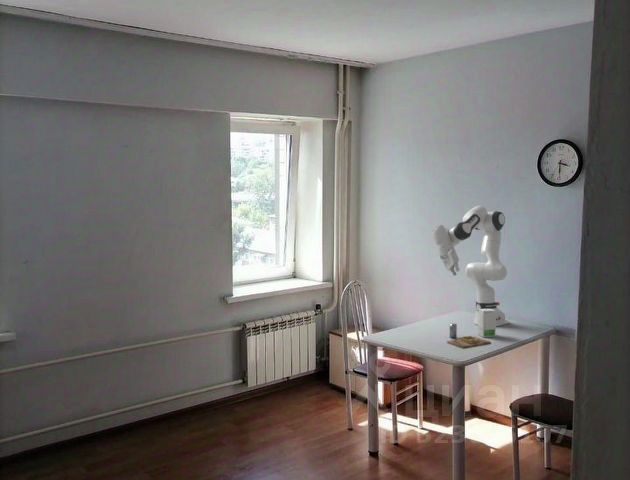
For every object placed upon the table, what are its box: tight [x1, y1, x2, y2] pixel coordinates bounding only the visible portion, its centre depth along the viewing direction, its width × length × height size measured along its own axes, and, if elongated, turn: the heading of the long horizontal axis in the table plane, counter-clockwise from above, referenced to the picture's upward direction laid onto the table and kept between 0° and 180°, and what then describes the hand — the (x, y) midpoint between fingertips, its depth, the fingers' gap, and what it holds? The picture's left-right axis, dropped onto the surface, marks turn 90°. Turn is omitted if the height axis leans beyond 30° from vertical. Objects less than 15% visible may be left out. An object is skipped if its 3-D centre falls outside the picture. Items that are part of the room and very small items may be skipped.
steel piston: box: [449, 323, 458, 340], centre depth 344 cm, size 4×4×8 cm
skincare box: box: [477, 309, 497, 338], centre depth 347 cm, size 8×7×16 cm
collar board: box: [446, 335, 491, 349], centre depth 332 cm, size 20×13×3 cm, turn 116°
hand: (456, 273), depth 343 cm, fingers open, 8 cm apart
